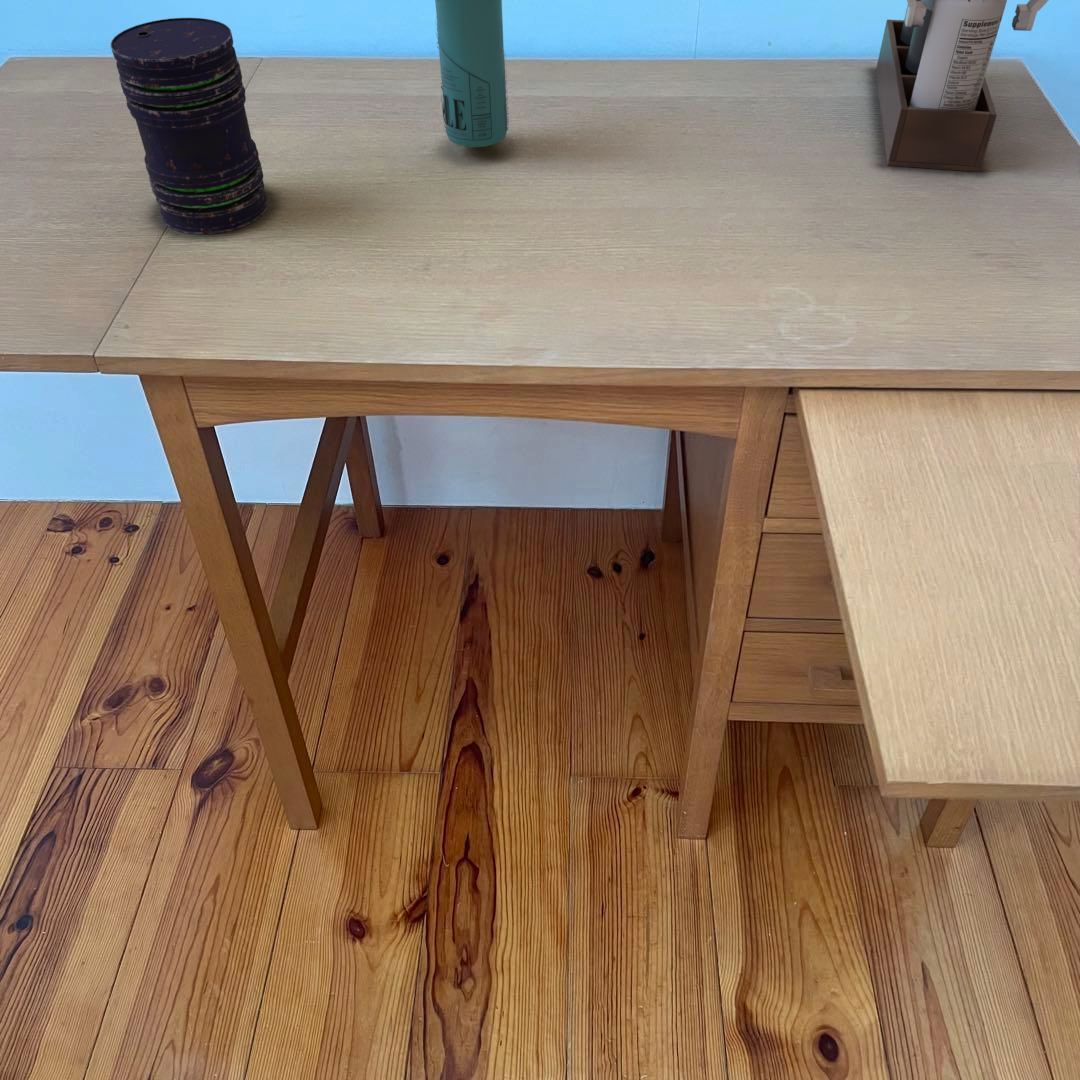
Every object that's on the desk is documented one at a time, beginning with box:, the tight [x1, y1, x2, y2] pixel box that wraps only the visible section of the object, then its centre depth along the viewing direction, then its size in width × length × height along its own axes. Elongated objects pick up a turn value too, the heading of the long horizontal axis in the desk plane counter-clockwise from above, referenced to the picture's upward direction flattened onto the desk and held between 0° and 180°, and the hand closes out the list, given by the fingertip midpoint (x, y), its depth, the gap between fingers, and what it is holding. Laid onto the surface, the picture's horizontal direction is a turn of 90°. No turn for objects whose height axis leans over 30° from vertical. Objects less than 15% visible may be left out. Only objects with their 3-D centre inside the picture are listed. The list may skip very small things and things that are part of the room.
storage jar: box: [110, 17, 269, 235], centre depth 88 cm, size 10×10×15 cm
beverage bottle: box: [434, 0, 510, 148], centre depth 94 cm, size 6×7×20 cm
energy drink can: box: [909, 0, 1008, 111], centre depth 94 cm, size 6×6×15 cm
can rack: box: [875, 19, 998, 173], centre depth 104 cm, size 9×25×6 cm, turn 169°
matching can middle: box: [903, 0, 935, 75], centre depth 100 cm, size 6×6×15 cm
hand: (966, 26), depth 92 cm, fingers open, 8 cm apart
